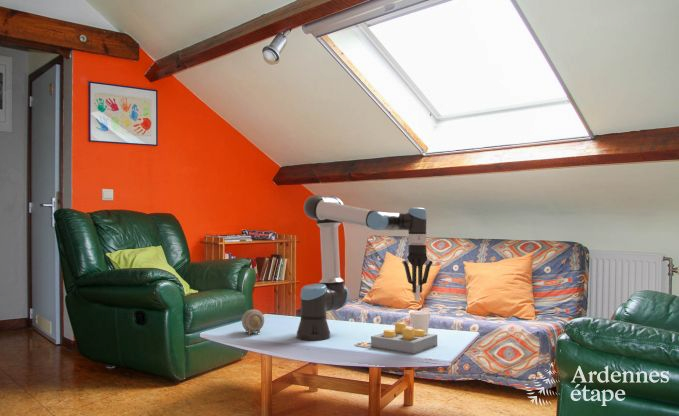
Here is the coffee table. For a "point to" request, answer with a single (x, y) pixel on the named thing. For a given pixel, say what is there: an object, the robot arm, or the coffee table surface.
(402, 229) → the robot arm
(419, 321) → the cup
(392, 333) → the button
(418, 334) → the button
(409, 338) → the button
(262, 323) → the toy sheep
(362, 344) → the pattern tile
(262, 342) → the coffee table surface
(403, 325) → the button
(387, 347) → the board
